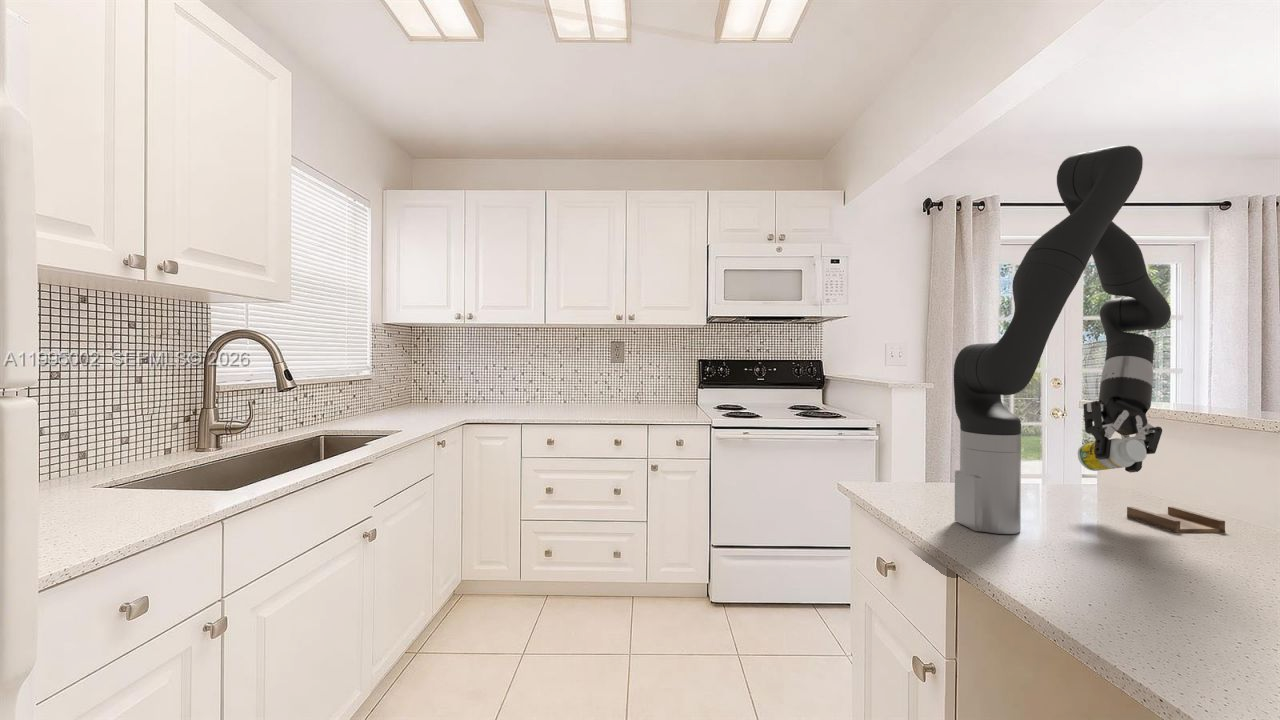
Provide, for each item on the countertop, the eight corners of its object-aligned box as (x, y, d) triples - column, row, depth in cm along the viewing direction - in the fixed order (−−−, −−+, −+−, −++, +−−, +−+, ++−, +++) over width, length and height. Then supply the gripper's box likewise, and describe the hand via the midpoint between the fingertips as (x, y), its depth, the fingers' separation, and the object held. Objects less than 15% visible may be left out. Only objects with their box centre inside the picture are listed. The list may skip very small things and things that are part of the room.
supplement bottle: (1094, 476, 104) (1142, 471, 95) (1071, 457, 105) (1117, 450, 96) (1106, 457, 106) (1155, 450, 97) (1083, 438, 107) (1130, 429, 97)
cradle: (1174, 532, 93) (1174, 521, 93) (1126, 517, 102) (1127, 506, 102) (1225, 532, 94) (1225, 520, 94) (1172, 516, 103) (1173, 506, 103)
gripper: (1109, 364, 101) (1099, 447, 95) (1181, 394, 100) (1175, 478, 95) (1074, 375, 108) (1063, 452, 103) (1141, 403, 107) (1134, 482, 102)
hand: (1117, 464), depth 99 cm, fingers closed on supplement bottle, 5 cm apart
